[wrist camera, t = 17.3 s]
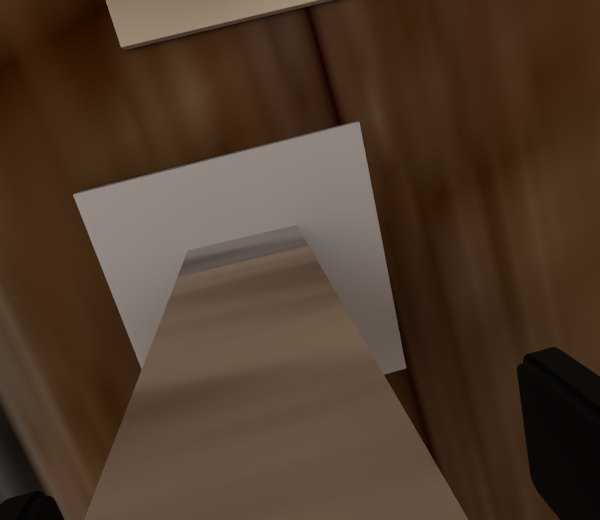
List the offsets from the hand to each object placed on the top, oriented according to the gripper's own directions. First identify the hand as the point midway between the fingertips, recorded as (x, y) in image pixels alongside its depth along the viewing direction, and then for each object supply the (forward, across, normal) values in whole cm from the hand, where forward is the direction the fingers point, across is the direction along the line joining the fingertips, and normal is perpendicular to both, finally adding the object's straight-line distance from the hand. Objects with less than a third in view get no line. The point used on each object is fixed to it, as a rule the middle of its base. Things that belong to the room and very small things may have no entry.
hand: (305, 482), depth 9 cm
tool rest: (+10, 0, -1) cm, 10 cm away
